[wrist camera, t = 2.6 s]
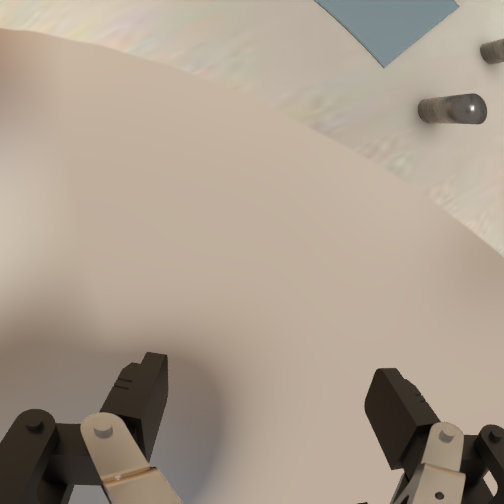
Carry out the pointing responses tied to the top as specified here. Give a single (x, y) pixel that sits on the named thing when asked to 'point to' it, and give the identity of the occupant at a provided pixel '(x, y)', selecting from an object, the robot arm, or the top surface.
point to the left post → (453, 109)
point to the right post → (493, 51)
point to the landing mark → (388, 22)
